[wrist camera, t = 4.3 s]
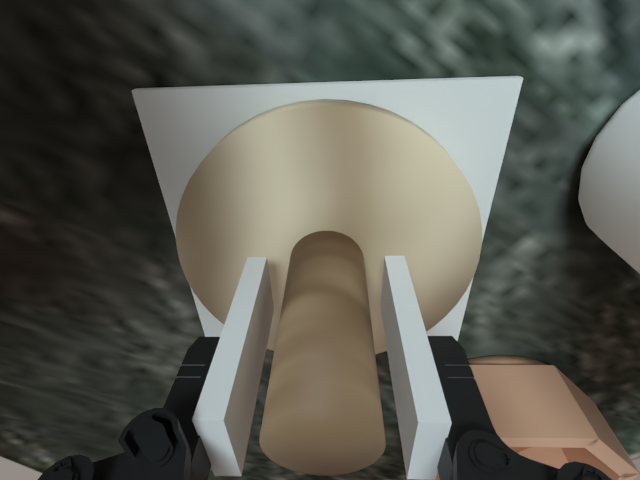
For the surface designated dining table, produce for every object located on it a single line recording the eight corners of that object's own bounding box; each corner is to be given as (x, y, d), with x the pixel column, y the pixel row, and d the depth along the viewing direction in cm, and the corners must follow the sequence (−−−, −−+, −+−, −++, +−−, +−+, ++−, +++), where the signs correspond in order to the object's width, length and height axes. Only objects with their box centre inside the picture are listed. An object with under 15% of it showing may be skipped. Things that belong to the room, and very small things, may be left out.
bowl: (395, 448, 27) (406, 529, 23) (409, 350, 21) (428, 436, 17) (544, 450, 26) (584, 534, 22) (602, 350, 20) (671, 439, 16)
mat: (210, 343, 21) (208, 348, 21) (136, 88, 14) (131, 90, 13) (453, 343, 21) (455, 348, 20) (518, 76, 13) (523, 77, 13)
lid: (215, 342, 21) (147, 538, 13) (148, 104, 13) (-87, 229, 6) (447, 342, 20) (516, 547, 12) (504, 93, 13) (747, 218, 5)
